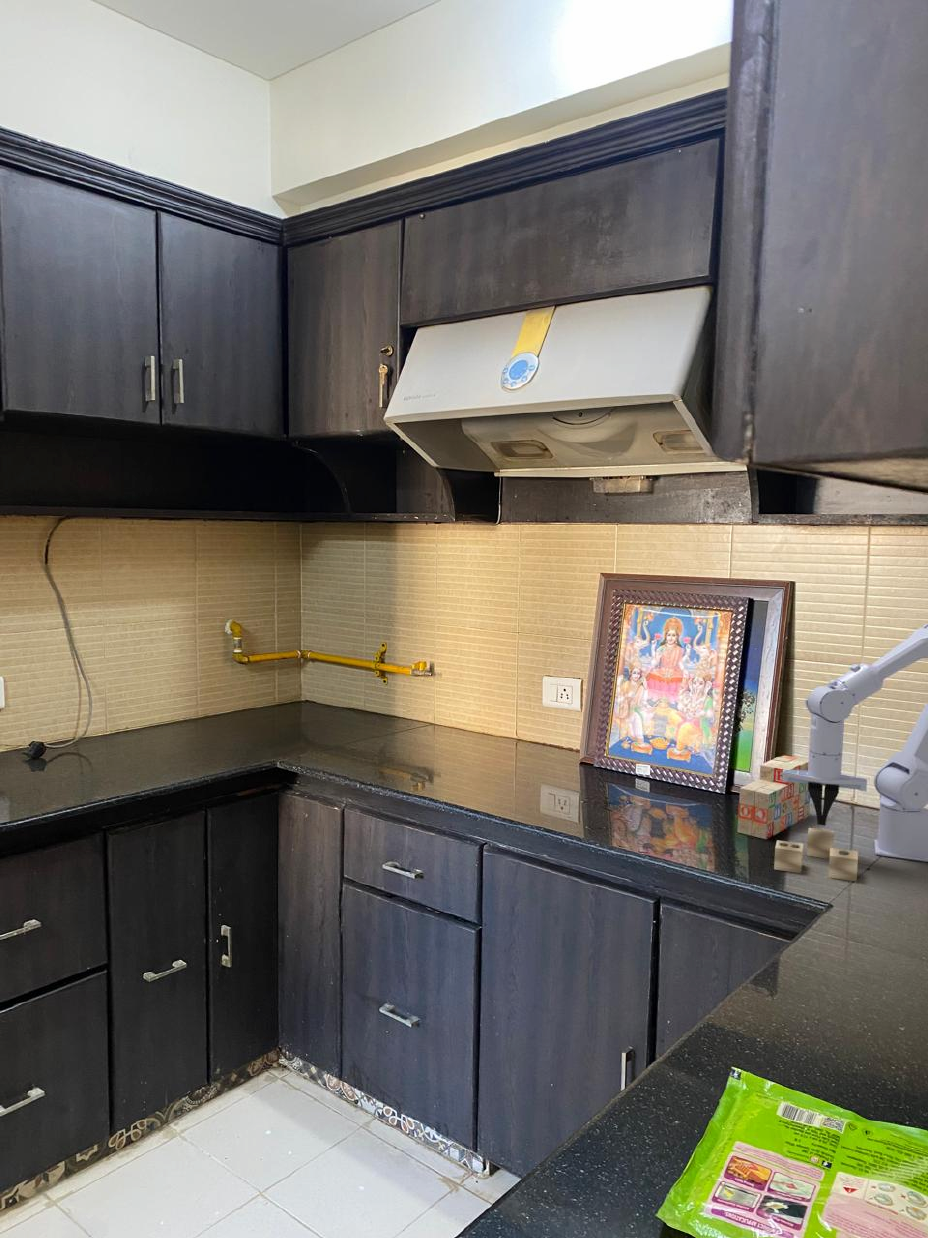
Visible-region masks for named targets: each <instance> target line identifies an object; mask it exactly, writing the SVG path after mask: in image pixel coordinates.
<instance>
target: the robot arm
mask: <svg viewBox="0 0 928 1238" xmlns="http://www.w3.org/2000/svg"><path fill="white" fill-rule="evenodd" d="M922 659H928V622H927V623H926V624H924V625H923V626H922V627H919V628H917V629H915V630H914V631H913V632H912V634H911V635H910V636H909V637H907V638H906V639H905V640H904V641H902V642H900V644H898V645H897V646H896V647H894V648H892V649H891V650H890V651H888V652H887V653H885V654H884V655H882V657H880V658H879V659H876V661H874V662H873V663H872V664H868V663H863V662H861V663H860V664H856V663H854V664H852V665H851V666H849V669H850V670H849V671H847V672H845V673H844V674H842V675H841V676H839V677H838V678H836V679H831V680H829V681H828V685H820V686H817V687H815V688H813V690H812V691H811V692H810V694H809V695H808V698H807V699H806V700H805V707H806V709H807V711H808V712H809V713H810V728H809V730H810V731H809V747H808V748H809V749H808V750H809V751H808V760H809V763H808V771H802V770H783V775H782V782H797V783H805V784H808V791H809V794H810V799H811V801H812V804H813V808H814V810H815V814H816V822H817V823H816V824H817V825H818V826H819V825H820V826H826V823H827V820H828V819H827V818H828V815H829V813H830V810H831V808H832V805H833V804H834V802H835V800H836V798H837V797H838V795H839V793H840V788H841V789H849V790H858V791H860V792H867V790H868V789H867V787H868V786H867V785H868V779H867V778H863V777H856V776H852V775H847V774H846V775H845V774H842V766H843V765H842V763H843V747H844V732H845V731H844V729H845V728H844V726H845V720H846V719H848V718H849V717H850V716H851V713H852V711H853V708H854V707H855V706H857V705H859V704H860V703H861V702H863V701H864V700H866V699H868V698H869V697H871V696H872V695H874V694H876V693H877V692H878V691H880V690H882V688H883V683H884V680H885V679H887V678H889V677H891V676H893V675H895V674H896V673H898V672H900V671H902V670H904V669H905V668H906V667H909V666H910V665H912V664H914V663H916V662H918V661H919V660H922ZM873 785H874V788H875V791H876V792H877V793H878V794H879V814H878V815H879V816H878V828H877V829H878V830H877V839H874V842H873V843H874V854H875V855H877V856H884V857H891V858H899V859H905V860H913V861H920V862H921V861H922V862H927V863H928V808H925V807H926V806H927V805H928V701H926V703H925V705H924V707H923V709H922V712H921V713H920V716H918V719H917V721H916V723H915V725H914V726H913V729H912V730H911V732H910V734H909V736H908V738H907V740H906V742H905V743H904V746H903V747H902V749H901V750H900V751H899V752H897V753H894V754H892V755H891V756H889V758H888V761H886V763H885V764H884V765H883V766H882V767H881V768H879V769H878V770H877V772H876V773H875V775H874V778H873ZM823 788H824V791H823ZM822 802H823V803H822ZM822 804H823V805H822Z"/></svg>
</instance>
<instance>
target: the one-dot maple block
mask: <svg viewBox="0 0 928 1238" xmlns="http://www.w3.org/2000/svg"><path fill="white" fill-rule="evenodd" d="M828 859H829V858H828ZM858 861H859V851H858V850H852V849H851V850H850V849H846V848H845V849H843V848H836V847H833V848H830V859H829V864H828V878H829V879H830V878H831V879H838V880H843V881H844V880H845V881H849V882H857V880H858V879H857V878H858V864H859V862H858Z"/></svg>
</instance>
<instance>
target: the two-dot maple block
mask: <svg viewBox="0 0 928 1238" xmlns="http://www.w3.org/2000/svg"><path fill="white" fill-rule="evenodd" d="M803 856H804V843H800V842H793V841H786V840H778V839H777V840H776V843H775V847H774V863H773V864H774V865H773V869H774V870H777V871H782V872H788V873H789V872H790V873H797V874H802V868H803V859H804V857H803Z"/></svg>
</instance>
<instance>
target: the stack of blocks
mask: <svg viewBox="0 0 928 1238" xmlns="http://www.w3.org/2000/svg"><path fill="white" fill-rule="evenodd" d="M808 763H809V758H802V757H796V756H789V755H781V756H777V757H775V758H772V759H770V760H768V761H766V762H764V763H761V764H759V765H760V766H759V779H756V780H755V781H752V782H750V783H748V784H746V785H744V786H742V787H740V788H739V800H738V801H739V803H738V806H737V807H738V810H737V811H738V813H737V830H736V831H737V833H740V834H744V835H747V836H750V837H756V838H760V839H763V840H768V839H769V838H771V837H773V836H775V835H778V834H779V833H781V832H782V831H784V829H785V830H786V829H788V828H789V826H790V827H791V826H793V825H795V824H797V823H799V822H801V821H802V819H803V820H804V819H807V818H809V817H810V810H811V809H810V807H811V796H810V794H809V791H808V784H805V783H797V782H782V775H783V770H802V771H808ZM787 827H788V828H787ZM772 835H773V836H772Z"/></svg>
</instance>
